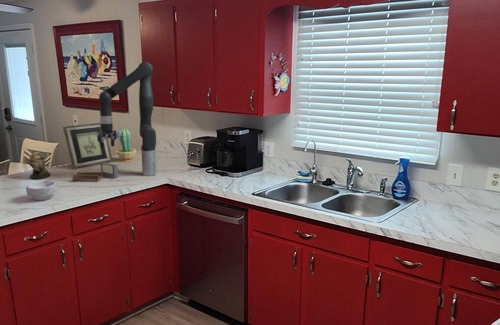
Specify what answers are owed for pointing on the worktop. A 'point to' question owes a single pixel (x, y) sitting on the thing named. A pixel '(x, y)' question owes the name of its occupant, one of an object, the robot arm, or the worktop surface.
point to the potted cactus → (125, 146)
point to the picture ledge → (87, 177)
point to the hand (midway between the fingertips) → (107, 147)
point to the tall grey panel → (109, 170)
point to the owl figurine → (38, 166)
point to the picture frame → (86, 145)
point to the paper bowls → (41, 190)
